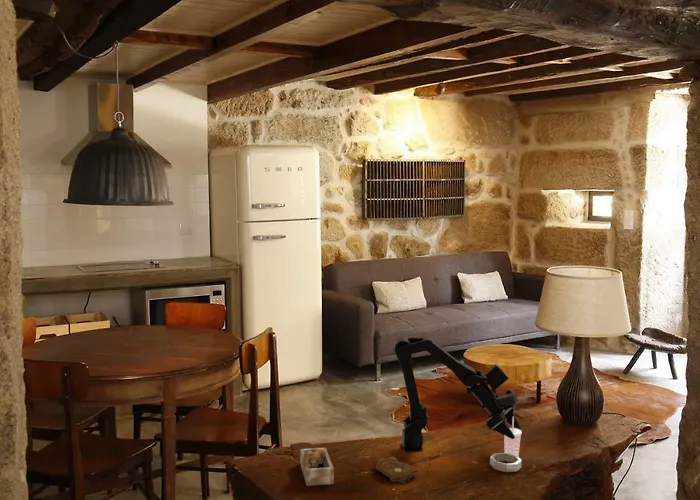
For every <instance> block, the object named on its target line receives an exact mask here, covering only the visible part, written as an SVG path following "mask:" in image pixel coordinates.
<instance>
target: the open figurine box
mask: <svg viewBox="0 0 700 500" xmlns="http://www.w3.org/2000/svg"><path fill="white" fill-rule="evenodd" d="M317 449H324V450H325V452H326V455H325V462H324V463H323V460H322V459H320V460H319V464H320V465H321V464H322V463H323V464H322V465H323V467H317V468H311V469H310V468H309V466H306V465H305V467H304V465H303V455H304V453H305V452H307V451H311V452H315V451H316V450H317ZM299 451H300V453H299V454H300V457H299V461H300V462H299V463H300V464H301V465H300V468H301V471H302V475H303V478H304V482H305V485H306V486H307V487H308V486H309V487H310V486H321V485H322V486H323V485H334V482H335V481H334V478H335V475H334V474H335V471H334V470H335V468H334V466H333V463H332V460H331V458H330V455H329V453H328V450H327V448H326V447H315V448H314V447H313V448H311V447H310V448H300V450H299ZM319 464H318V465H319Z"/></svg>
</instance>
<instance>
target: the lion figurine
mask: <svg viewBox="0 0 700 500" xmlns="http://www.w3.org/2000/svg"><path fill="white" fill-rule="evenodd" d="M325 455H326V452H325V450H324V449H317V450H316V451H315V452H311V451H307V452H305V453H304V455H303V465H304V467H305V465H306V466H309V468H310V469H311V468H319V460H320V459H322V460H323V463H324V462H325Z"/></svg>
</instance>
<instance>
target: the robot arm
mask: <svg viewBox="0 0 700 500" xmlns="http://www.w3.org/2000/svg"><path fill="white" fill-rule="evenodd" d="M393 348H394V352H395V355H396V357H397V360H398V362H399V365H400V366H401V369H402V375H403V378H404V379H403V380H404V383H405V387H406V392H407V393H406V394H407V396H408V398H407V399H408V401H409V402H408V404H409V405H408V409H409V410H408V411H409V414H408V416H406V418H405V419H404V420H403V427H404V428H403V429H402V432H401V433H402V434H401V442H400V446H401V447H402V449H403V451H404V452H415V451H417V452H418V451H419V450H420V451H423V445H424V435H423V434H422V433H423V432H422V430H424V428H426V426H427V424H428V420H429V415H428V412H427V406H426V403H425V402H423V403H421V400H420V398H419V392H418V388H417V384H416V379H415V374H414V369H413V366H412V365H413V364H412V363H413V362H412V361H413V359H412V358H413V356H412V355H413V354H418V353H422V352H427V353H428V354H430V355H431V356H432V357H434V358H435V359H436V360H438V362H440V363H442V365H444V366H445V367H446V368H448V369H449V370H450V371H452V373H454V375H455V376H456V378H457V379H459V381H460V382H461V383H462V385H464V386H465V387H466V396H469V395H471V393H472V395H474V397H475V398H476V399H477V400H478V402H479V403H480V404H481V406H480V407H481V408H482V409H485V410H486V411H487V412H488V414H489V415H488V417H489V418H488V419H487V420H486V422H485V427H486V428H488V430H489V431H490V430H491V431H493V432H494V431H495V432H496V433H499V434H501V435H503V436H504V435H505V436H507V437H509V438H511V439H514V438H515V436H514V434H513V433H512V431H511V430H510V428H511V427H512V420H513V417H514V428H517V429H519V430H521V429H522V427H521V425H520V422H519V421H518V419H517V416H516V414H515V409H516V406H515V405H516V404H517V402H519V399H518V397H517V396H518V394H517V393H516V392H515V391H514V390H512V389H511V388H509V389H506V391H505V394H503V395H500V394H499V393H497V392H496V393H494V392H493V389H494V390H495V389H496V390H498V389H499V388H500V387H502V386H503V385H504V384H505V383H506V382H507V381H509V380H510V377H509V376H508V375H507V374H506V373H505V371H504V370H503V369H502V368H500V366H499V365H498V364H496V363H495V364H494V365H492V366H491V368H490V369H488V370H487V371H486V372H484V371H483V370H477V369H474V368H473V367H472V366H470V365H468V364H466V363H465V362H462V361H460V360H458V359H456V358H455V357H453V356H452V355H451V354H450V353H449V352H447V351H446V350H445V349H444V348H443V347H441V346H440V345H438V344H437V343H435V342H434V341H433V340H432V338H430V337H429V336H425V337H405V336H398V337H397V338H395V340H394V342H393ZM508 425H510V426H511V427H510V426H508Z"/></svg>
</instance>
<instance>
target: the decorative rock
mask: <svg viewBox="0 0 700 500" xmlns="http://www.w3.org/2000/svg"><path fill="white" fill-rule="evenodd" d="M375 470H377V471H378V472H381V474H382V475H384V476H386V477H387V478H388V479H389V480H390V481H391V482H392V483H393V482H394V483H399V482H400V483H402V484H406V481H407V482H409V481H410V480H411V479H412V478H414V477H415V474H416V473H418V470H417V469H415V468H414V467H413V466H412V465H409V464H408V463H404V462H402V461H399V460H398V458H397V457H395V456H390V455H389V456H388V457H380V458H378V459H376V465H375Z"/></svg>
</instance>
